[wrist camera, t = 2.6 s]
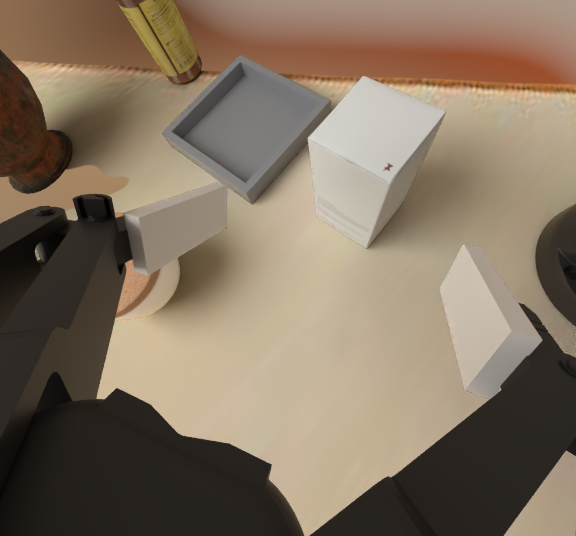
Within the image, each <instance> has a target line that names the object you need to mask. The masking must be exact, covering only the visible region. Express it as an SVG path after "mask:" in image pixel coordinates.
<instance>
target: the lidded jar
mask: <svg viewBox="0 0 576 536" xmlns="http://www.w3.org/2000/svg"><path fill="white" fill-rule="evenodd" d="M123 215H124V214H123V213H115V217H116V218H117V217H120V216H123ZM125 264H126V269H127V271H126V276H125V280H124V284H123V288H122V292H121V296H120V301H119V305H118V309H117V313H116V317H115V321H129V320H134V319H139V318H143V317H145V316H148V315H150V314H152V313H154V312H156V311H158V310H159V309H160V308H162V307H163V306H164V305H165V304H166V303H167V302H168V301H169V300H170V298H171V297H172V296H173V294H174V292H175V291H176V288H177V286H178V282H179V277H180V265H179V261H178V258H176V259H175V260H173V261H172V262H170V263H168V264H167V265H165V266H163V267H162V268H160V269H158V270H157V271H155V272H154V273H152V274H150V275H149V276H147V275H145V274H142V273H139V272H136V271H134V266H133V261H132V260H130V261H128V262H126V263H125Z"/></svg>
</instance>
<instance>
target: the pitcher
mask: <svg viewBox="0 0 576 536" xmlns="http://www.w3.org/2000/svg"><path fill="white" fill-rule="evenodd" d="M71 155H72V145H71V142H70V139H69V137H68V136H67V135H65V134H64V133H63V132H61V131H57V130H47V127H46V122H45V117H44V113H43V109H42V105H41V103H40V101H39V99H38V97H37V95H36V93H35V91H34V89H33V87H32V85H31V83H30V81H29V79H28V78H27V77H26V76H25V75H24V74H23V73H22V72H21V71H20V70H19V69H18V67H17V66H16V65H15V64H14V63H13V62H12V61H11V60H10V59H9V58H8V57H7V56H6V55H5V54H4V53H3V52H2V51H1V50H0V177H7V176H9V181H10V184H11V185H12V187H13V188H14V189H16V190H17V191H19V192H21V193H26V194H29V193H35V192H38V191H41V190H43V189H45V188H47V187H48V186H50V185H51V184H52V183H54V182H55V181H56V180H57V179H58V178H59V177H60V176H61V174H62V173H63V172H64V171H65V169H66V167H67V166H68V164H69V161H70V159H71Z"/></svg>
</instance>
